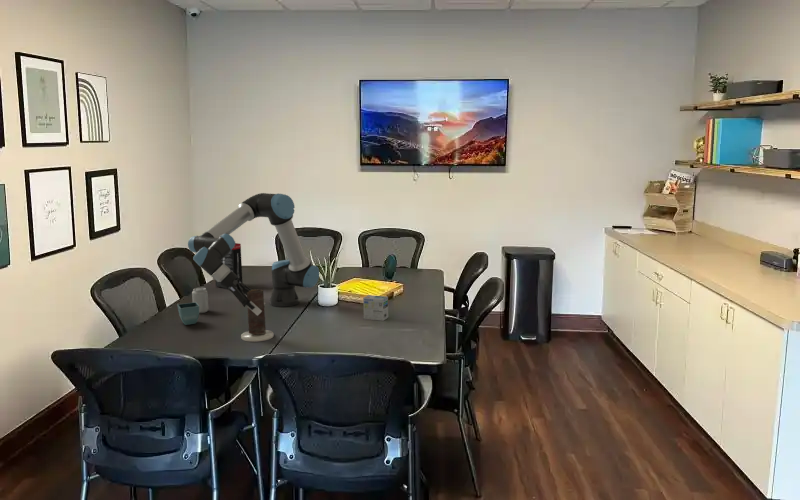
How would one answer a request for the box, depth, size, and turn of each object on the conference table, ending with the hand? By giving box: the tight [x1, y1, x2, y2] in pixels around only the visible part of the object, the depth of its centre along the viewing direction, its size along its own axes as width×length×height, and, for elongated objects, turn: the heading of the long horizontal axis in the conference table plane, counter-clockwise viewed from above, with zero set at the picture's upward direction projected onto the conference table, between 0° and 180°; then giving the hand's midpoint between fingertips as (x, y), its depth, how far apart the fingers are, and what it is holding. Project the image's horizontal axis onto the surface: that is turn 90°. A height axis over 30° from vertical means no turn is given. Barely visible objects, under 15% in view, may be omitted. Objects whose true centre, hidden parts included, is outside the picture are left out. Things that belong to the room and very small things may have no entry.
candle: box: [246, 288, 267, 335], centre depth 286 cm, size 8×7×20 cm
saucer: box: [240, 329, 275, 343], centre depth 288 cm, size 14×14×1 cm
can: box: [191, 287, 209, 314], centre depth 331 cm, size 8×8×12 cm
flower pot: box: [176, 301, 200, 326], centre depth 309 cm, size 9×9×9 cm
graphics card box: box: [215, 242, 244, 290], centre depth 383 cm, size 17×7×27 cm, turn 58°
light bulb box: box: [362, 294, 389, 322], centre depth 316 cm, size 11×7×11 cm, turn 71°
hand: (261, 309), depth 286 cm, fingers open, 13 cm apart
